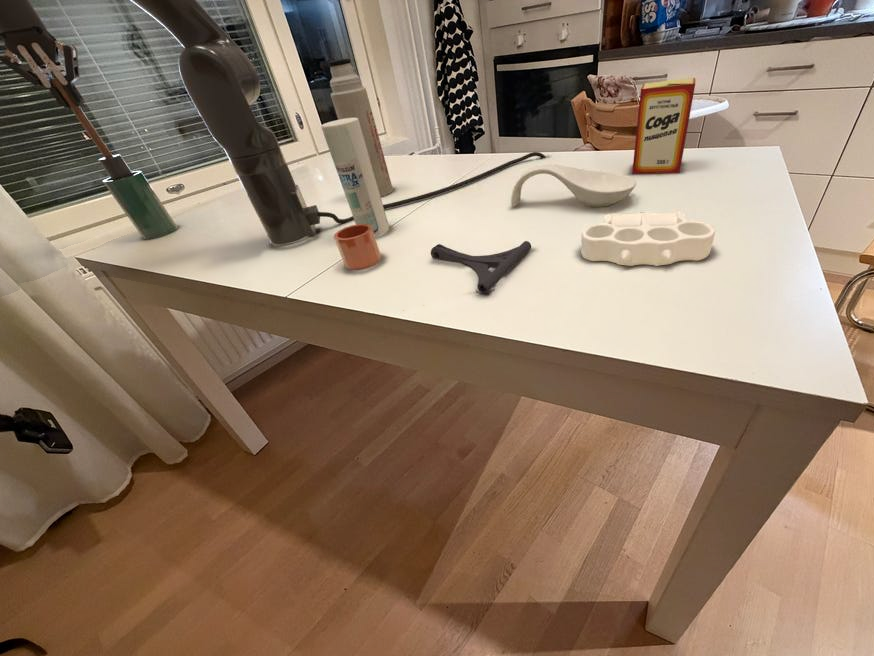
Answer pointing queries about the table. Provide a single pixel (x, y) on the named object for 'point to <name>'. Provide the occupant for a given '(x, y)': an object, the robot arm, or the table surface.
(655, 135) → the baking soda box
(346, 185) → the spray can
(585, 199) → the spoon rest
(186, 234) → the table surface
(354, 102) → the thermos bottle
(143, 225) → the cup
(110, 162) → the long wooden handle
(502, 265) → the bracket
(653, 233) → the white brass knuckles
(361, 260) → the holder
